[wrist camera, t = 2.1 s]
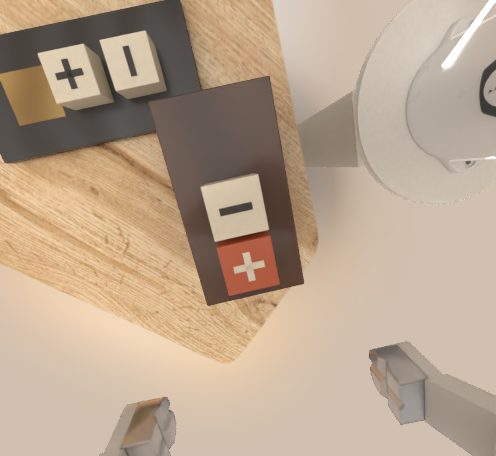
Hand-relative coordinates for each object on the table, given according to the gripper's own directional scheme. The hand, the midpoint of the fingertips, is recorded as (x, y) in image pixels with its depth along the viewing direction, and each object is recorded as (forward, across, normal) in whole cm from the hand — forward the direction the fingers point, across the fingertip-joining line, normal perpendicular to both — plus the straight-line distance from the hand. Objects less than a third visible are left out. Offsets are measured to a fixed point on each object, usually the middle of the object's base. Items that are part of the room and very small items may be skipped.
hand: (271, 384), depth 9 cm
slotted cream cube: (+14, 0, -5) cm, 15 cm away
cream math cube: (+23, +13, -20) cm, 33 cm away
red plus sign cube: (+14, 0, 0) cm, 14 cm away
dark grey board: (+24, +13, -20) cm, 34 cm away
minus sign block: (+23, +7, -20) cm, 31 cm away
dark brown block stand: (+24, 0, -5) cm, 25 cm away
